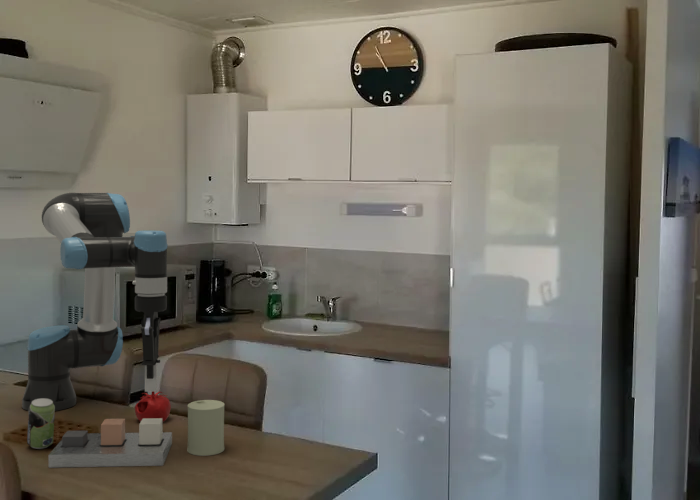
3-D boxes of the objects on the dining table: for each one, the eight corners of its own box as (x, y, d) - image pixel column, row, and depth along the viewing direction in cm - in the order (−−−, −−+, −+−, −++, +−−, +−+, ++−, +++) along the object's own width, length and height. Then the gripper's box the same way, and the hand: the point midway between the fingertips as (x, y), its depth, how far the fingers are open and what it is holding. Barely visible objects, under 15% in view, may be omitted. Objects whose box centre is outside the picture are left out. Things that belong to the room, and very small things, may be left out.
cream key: (142, 438, 189) (142, 418, 189) (162, 438, 189) (162, 418, 189) (139, 444, 184) (139, 424, 184) (159, 444, 185) (159, 423, 184)
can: (210, 441, 198) (211, 395, 197) (231, 450, 191) (232, 403, 190) (179, 449, 191) (180, 402, 190) (200, 458, 185) (200, 409, 184)
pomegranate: (169, 415, 222) (169, 383, 221) (172, 424, 212) (173, 391, 212) (133, 417, 218) (134, 384, 218) (135, 426, 209) (135, 393, 209)
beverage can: (45, 440, 196) (45, 394, 195) (60, 447, 191) (60, 400, 190) (21, 446, 191) (21, 399, 190) (36, 453, 186) (36, 405, 186)
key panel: (67, 445, 193) (67, 433, 192) (171, 443, 195) (171, 432, 195) (48, 467, 177) (48, 454, 177) (163, 465, 179) (163, 453, 179)
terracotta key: (105, 438, 188) (105, 418, 188) (125, 438, 188) (125, 418, 188) (100, 445, 183) (100, 424, 183) (121, 444, 184) (121, 424, 183)
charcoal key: (67, 450, 187) (67, 430, 187) (87, 450, 188) (87, 430, 187) (62, 457, 182) (62, 436, 182) (83, 457, 183) (82, 436, 183)
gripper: (139, 291, 190) (139, 384, 192) (129, 297, 177) (130, 397, 179) (170, 291, 191) (170, 384, 193) (162, 297, 178) (162, 397, 180)
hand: (150, 390), depth 186 cm, fingers closed
